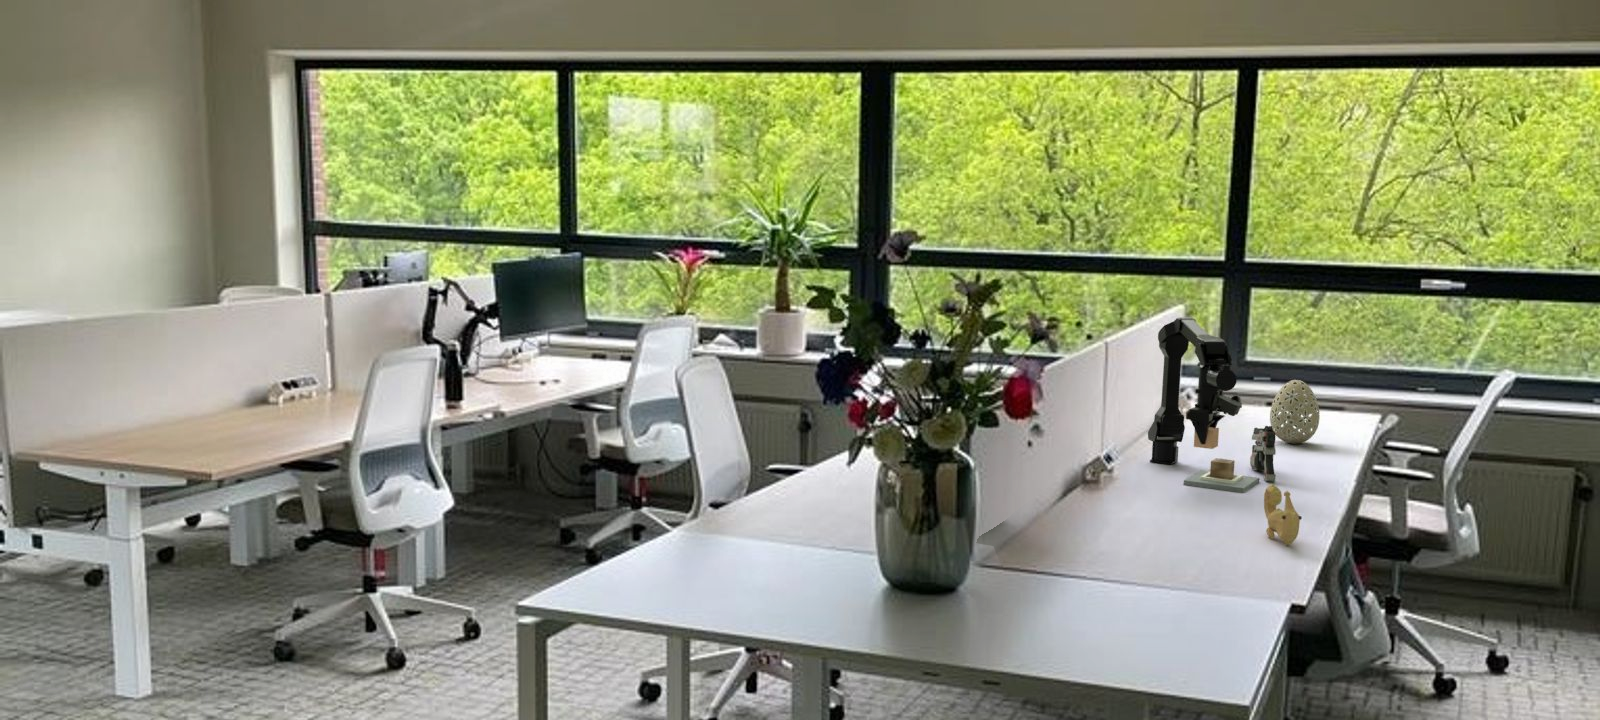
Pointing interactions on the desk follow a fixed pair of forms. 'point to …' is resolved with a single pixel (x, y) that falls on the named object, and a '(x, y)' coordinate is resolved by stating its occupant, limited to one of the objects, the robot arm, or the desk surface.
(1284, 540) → the toy
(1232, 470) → the walnut block
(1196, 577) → the desk surface
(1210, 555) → the desk surface
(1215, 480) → the blueprint plate
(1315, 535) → the desk surface
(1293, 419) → the ornament
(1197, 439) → the terracotta block
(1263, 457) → the toy blaster
